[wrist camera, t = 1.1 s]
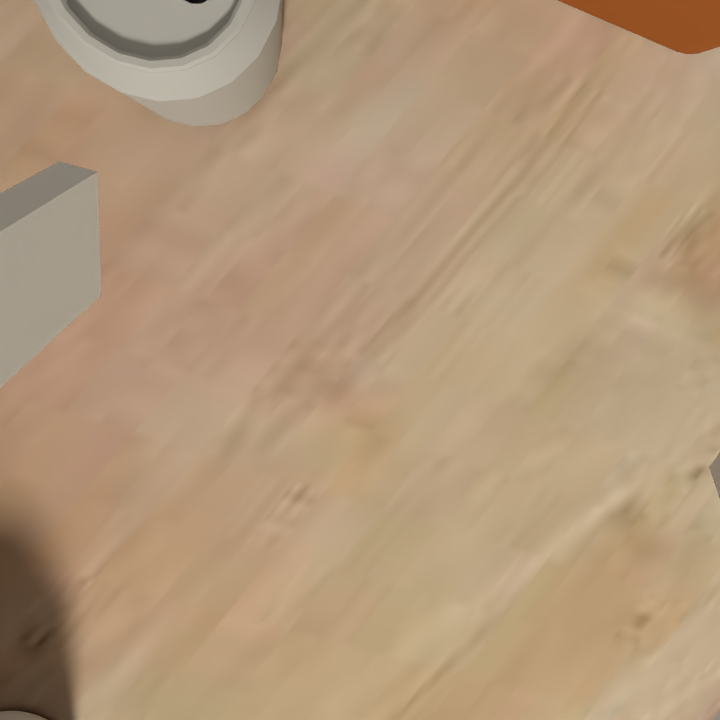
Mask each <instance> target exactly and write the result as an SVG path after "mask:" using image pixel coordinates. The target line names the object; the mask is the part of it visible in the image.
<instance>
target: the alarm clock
mask: <svg viewBox="0 0 720 720" xmlns="http://www.w3.org/2000/svg"><path fill="white" fill-rule="evenodd" d="M558 1H561V2H563V3H565V4H568V5H570V6H572V7H575V8H577V9H579V10H582V11H584V12H586V13H589V14H591V15H593V16H596V17H598V18H600V19H603V20H605V21H607V22H610V23H612V24H614V25H617V26H619V27H621V28H624V29H626V30H628V31H631V32H633V33H635V34H638V35H640V36H642V37H645V38H647V39H649V40H652V41H654V42H656V43H658V44H661V45H663V46H665V47H668V48H670V49H672V50H675V51H677V52H681V53H685V54H696V53H701V52H704V51H707V50H710V49H713V48H716V47H720V0H558Z"/></svg>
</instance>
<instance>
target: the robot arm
mask: <svg viewBox="0 0 720 720" xmlns="http://www.w3.org/2000/svg"><path fill="white" fill-rule="evenodd" d="M100 296H101V276H100V242H99V209H98V175H97V172H96V171H92V170H89V169H85V168H81V167H78V166H74V165H70V164H67V163H63V162H58V163H56V164H54V165H52V166H50V167H48V168H47V169H45V170H43V171H41V172H39V173H37V174H36V175H34V176H32V177H30V178H28V179H26V180H24V181H23V182H21V183H19V184H17V185H15V186H13V187H12V188H10V189H8V190H6V191H4V192H2V193H0V387H1V386H3V385H4V384H5V383H6V382H7V381H8V380H9V379H10V378H11V377H12V376H14V375H15V374H16V373H17V372H18V371H19V370H20V369H21V368H22V367H23V366H24V365H26V364H27V363H28V362H29V361H30V360H31V359H32V358H33V357H34V356H35V355H36V354H38V353H39V352H40V351H41V350H42V349H43V348H44V347H45V346H46V345H47V344H49V343H50V342H51V341H52V340H53V339H54V338H55V337H56V336H57V335H58V334H59V333H61V332H62V331H63V330H64V329H65V328H66V327H67V326H68V325H69V324H70V323H71V322H73V321H74V320H75V319H76V318H77V317H78V316H79V315H80V314H81V313H82V312H84V311H85V310H86V309H87V308H88V307H89V306H90V305H91V304H92V303H93V302H94V301H96V300H97V299H98V298H99V297H100ZM709 468H710V471H711V474H712V477H713V480H714V483H715V485H716V488H717V491H718V494H719V497H720V453H719V454H718V456H717V457H716V459H715V460H714V461H713V463H712V464H711V466H710V467H709Z"/></svg>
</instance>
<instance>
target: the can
mask: <svg viewBox="0 0 720 720" xmlns="http://www.w3.org/2000/svg"><path fill="white" fill-rule="evenodd" d="M35 2H36V4H37V6H38V8H39V10H40V11H41V13H42V15H43V17H44V19H45V21H46V23H47V25H48V27H49V29H50V31H51V33H52V34H53V36H54V38H55V40H56V41H57V42H58V43H59V44H60V45H61V46H62V47H63V49H64V50H65V51H66V52H67V53H68V54H69V55H70V56H71V57H72V58H73V59H74V60H75V61H76V62H77V63H78V64H79V65H80V67H81V68H82V69H83V70H84V71H85V72H87V73H89V74H90V75H92V76H94V77H95V78H97V79H99V80H100V81H102V82H104V83H106V84H107V85H109V86H111V87H112V88H114V89H116V90H117V91H119V92H121V93H123V94H124V95H126V96H128V97H129V98H131V99H133V100H134V101H136V102H138V103H140V104H141V105H143V106H145V107H146V108H148V109H150V110H151V111H153V112H155V113H157V114H158V115H160V116H162V117H163V118H165V119H167V120H169V121H173V122H177V123H182V124H186V125H190V126H195V127H196V126H206V125H217V124H223V123H225V122H227V121H229V120H231V119H234V118H236V117H238V116H240V115H242V114H245V113H246V112H247V111H248V110H249V109H250V108H251V107H252V106H253V105H254V104H255V103H256V102H257V101H259V100H260V99H261V98H262V97H263V96H264V95H265V93H266V91H267V89H268V87H269V85H270V83H271V81H272V79H273V77H274V76H275V74H276V72H277V68H278V62H279V56H280V51H281V45H282V17H283V0H35Z"/></svg>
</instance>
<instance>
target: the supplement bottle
mask: <svg viewBox="0 0 720 720" xmlns="http://www.w3.org/2000/svg"><path fill="white" fill-rule="evenodd" d="M0 720H47V719H45V718H43V717H40V716H38V715H35V714H32V713H27V712H22V711H2V712H0Z"/></svg>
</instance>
